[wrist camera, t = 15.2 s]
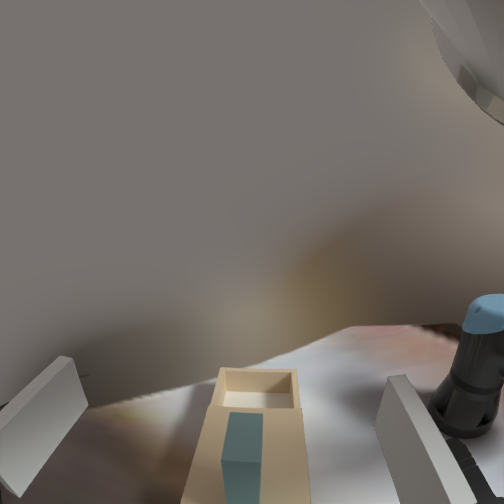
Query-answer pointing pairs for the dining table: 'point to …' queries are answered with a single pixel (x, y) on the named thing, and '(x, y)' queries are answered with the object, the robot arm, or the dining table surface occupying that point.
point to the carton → (256, 388)
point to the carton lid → (249, 458)
